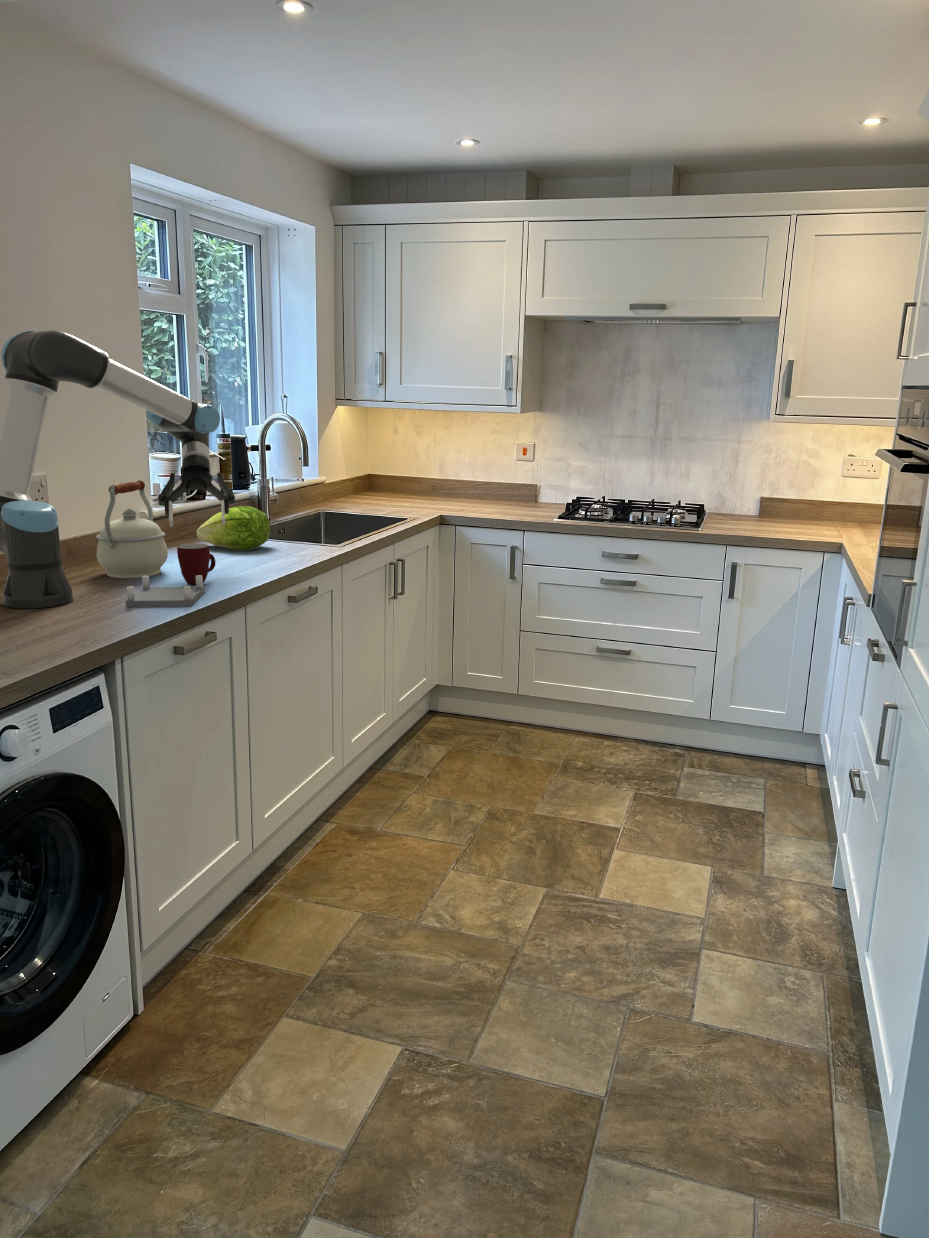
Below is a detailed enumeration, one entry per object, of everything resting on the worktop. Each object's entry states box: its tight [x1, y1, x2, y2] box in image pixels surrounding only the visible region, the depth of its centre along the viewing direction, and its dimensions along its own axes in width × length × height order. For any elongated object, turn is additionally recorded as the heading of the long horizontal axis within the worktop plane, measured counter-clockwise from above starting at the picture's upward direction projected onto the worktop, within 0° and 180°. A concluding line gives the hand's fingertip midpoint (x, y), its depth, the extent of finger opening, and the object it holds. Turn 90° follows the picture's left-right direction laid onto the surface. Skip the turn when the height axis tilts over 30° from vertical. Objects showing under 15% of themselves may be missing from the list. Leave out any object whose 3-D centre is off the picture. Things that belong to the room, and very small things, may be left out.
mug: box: [176, 543, 216, 587], centre depth 242 cm, size 10×8×10 cm
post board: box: [125, 575, 206, 608], centre depth 223 cm, size 15×15×4 cm
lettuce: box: [196, 505, 271, 551], centre depth 295 cm, size 14×24×15 cm
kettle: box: [95, 479, 169, 580], centre depth 253 cm, size 25×18×25 cm
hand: (197, 523), depth 249 cm, fingers open, 13 cm apart
